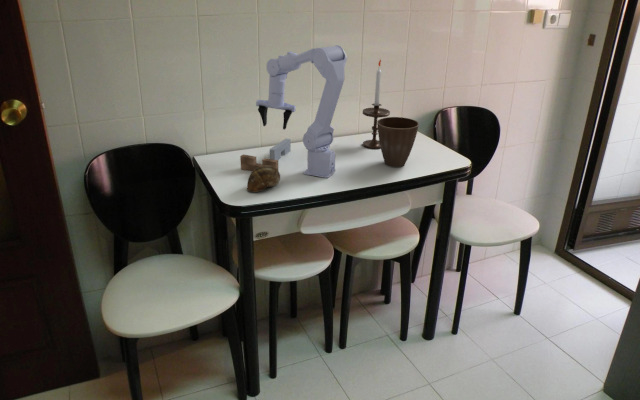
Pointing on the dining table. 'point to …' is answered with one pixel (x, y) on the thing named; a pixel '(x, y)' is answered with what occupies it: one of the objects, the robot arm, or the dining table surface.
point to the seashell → (263, 178)
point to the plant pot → (396, 139)
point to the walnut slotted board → (251, 164)
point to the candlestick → (375, 114)
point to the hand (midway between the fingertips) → (274, 126)
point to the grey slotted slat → (280, 149)
